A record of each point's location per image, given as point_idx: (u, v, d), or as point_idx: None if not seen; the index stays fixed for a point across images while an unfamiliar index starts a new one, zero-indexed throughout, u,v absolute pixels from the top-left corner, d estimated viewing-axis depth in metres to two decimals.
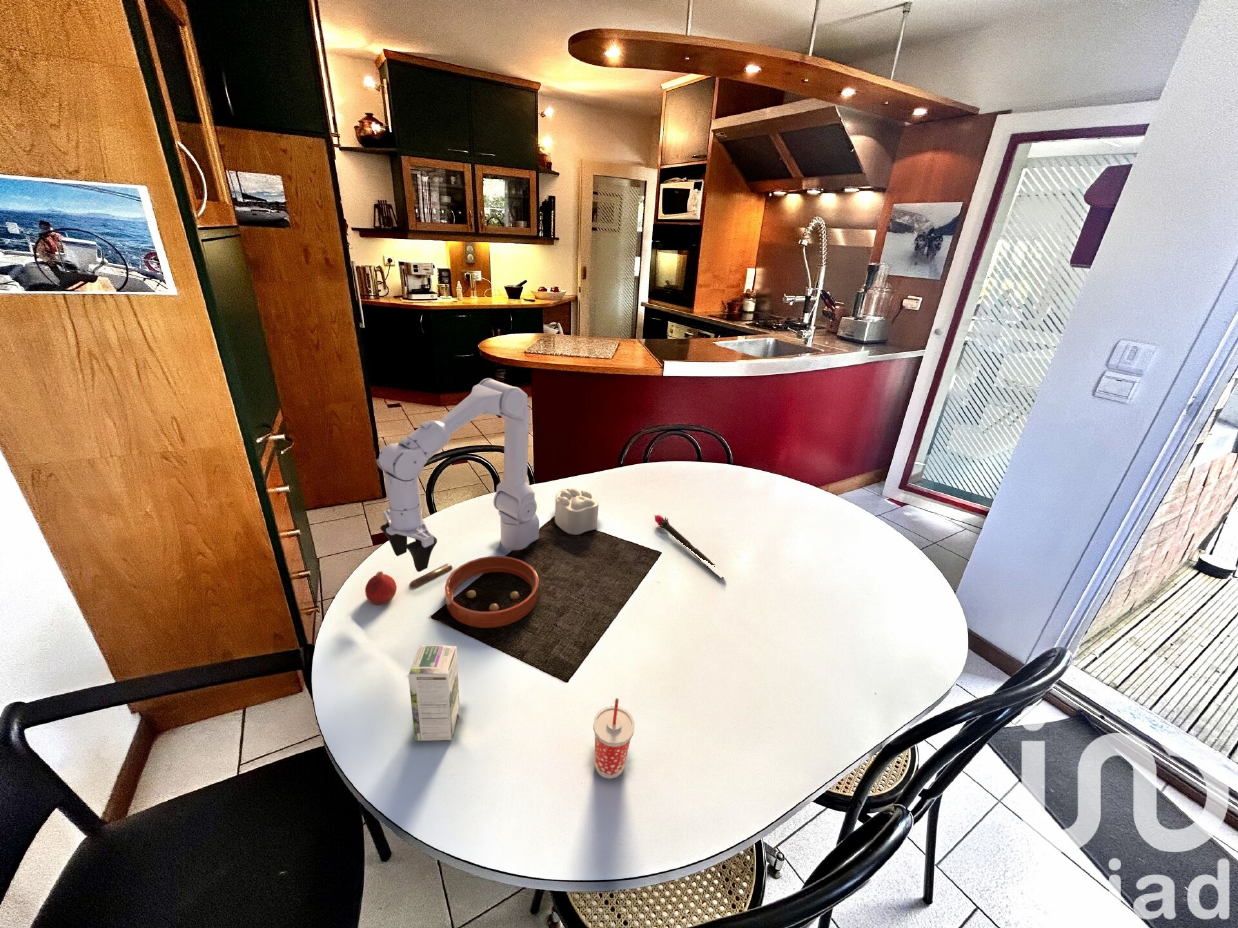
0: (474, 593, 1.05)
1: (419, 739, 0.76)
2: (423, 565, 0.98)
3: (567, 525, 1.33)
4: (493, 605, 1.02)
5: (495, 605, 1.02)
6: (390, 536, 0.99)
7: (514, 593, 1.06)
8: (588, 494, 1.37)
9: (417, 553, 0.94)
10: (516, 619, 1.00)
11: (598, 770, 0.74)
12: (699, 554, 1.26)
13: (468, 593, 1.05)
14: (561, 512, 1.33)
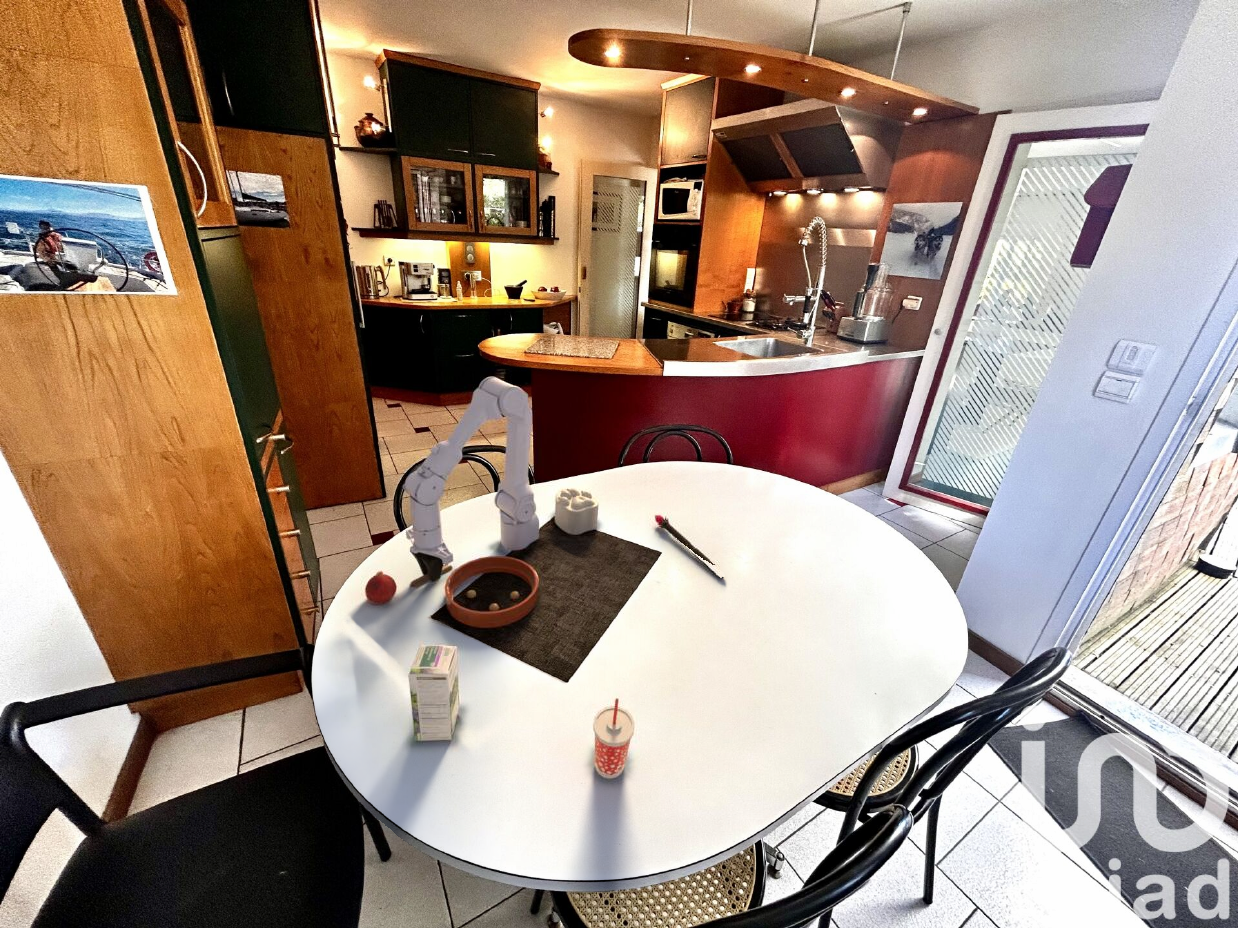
0: (474, 593, 1.05)
1: (419, 739, 0.76)
2: (436, 575, 1.09)
3: (567, 525, 1.33)
4: (493, 605, 1.02)
5: (495, 605, 1.02)
6: (419, 558, 1.07)
7: (514, 593, 1.06)
8: (588, 494, 1.37)
9: (431, 565, 1.05)
10: (516, 619, 1.00)
11: (598, 770, 0.74)
12: (699, 554, 1.26)
13: (468, 593, 1.05)
14: (561, 512, 1.33)
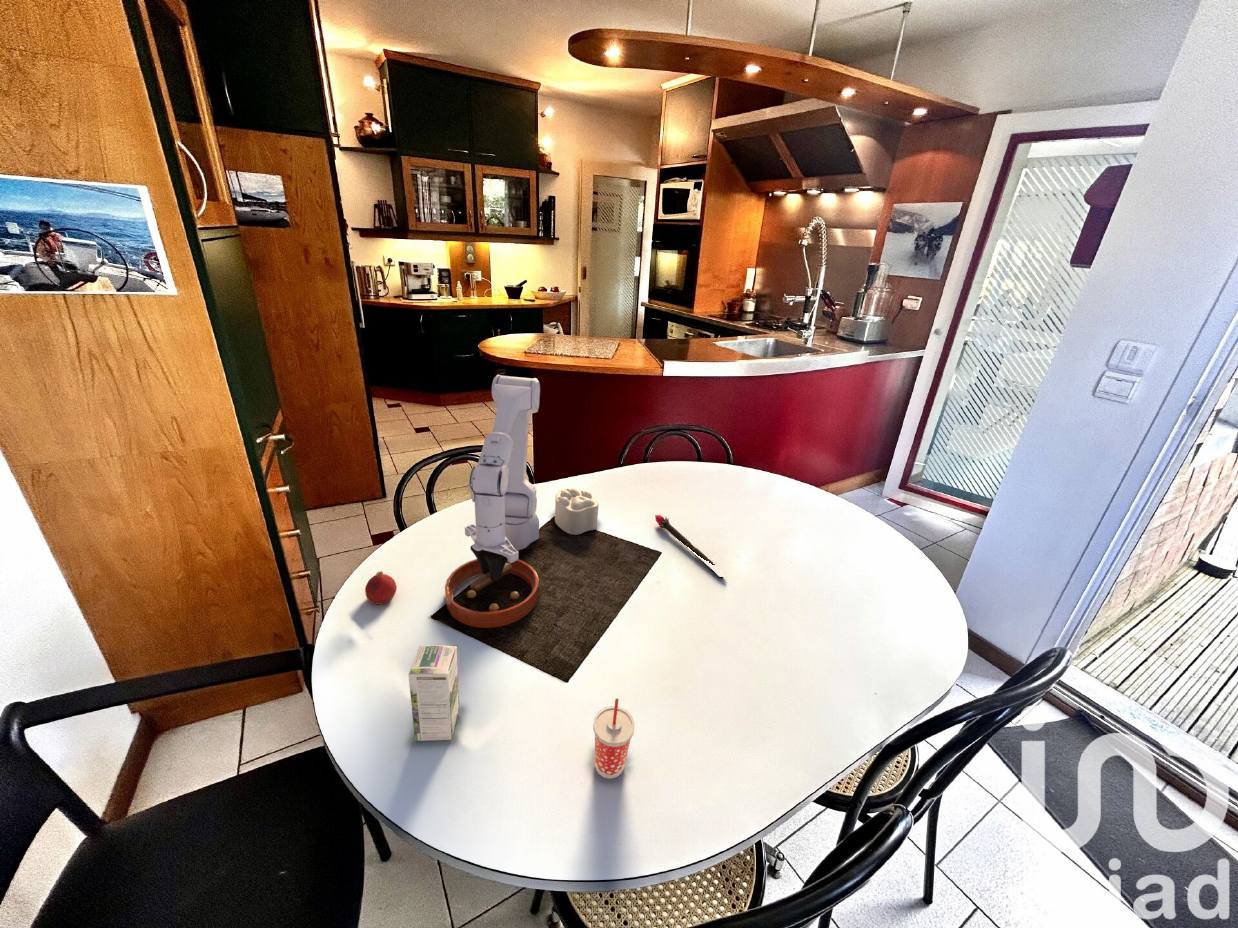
0: (474, 593, 1.05)
1: (419, 739, 0.76)
2: (498, 574, 1.02)
3: (567, 525, 1.33)
4: (493, 605, 1.02)
5: (495, 605, 1.02)
6: (480, 556, 1.01)
7: (514, 593, 1.06)
8: (588, 494, 1.37)
9: (495, 563, 0.99)
10: (516, 619, 1.00)
11: (598, 770, 0.74)
12: (699, 554, 1.26)
13: (468, 593, 1.05)
14: (561, 512, 1.33)
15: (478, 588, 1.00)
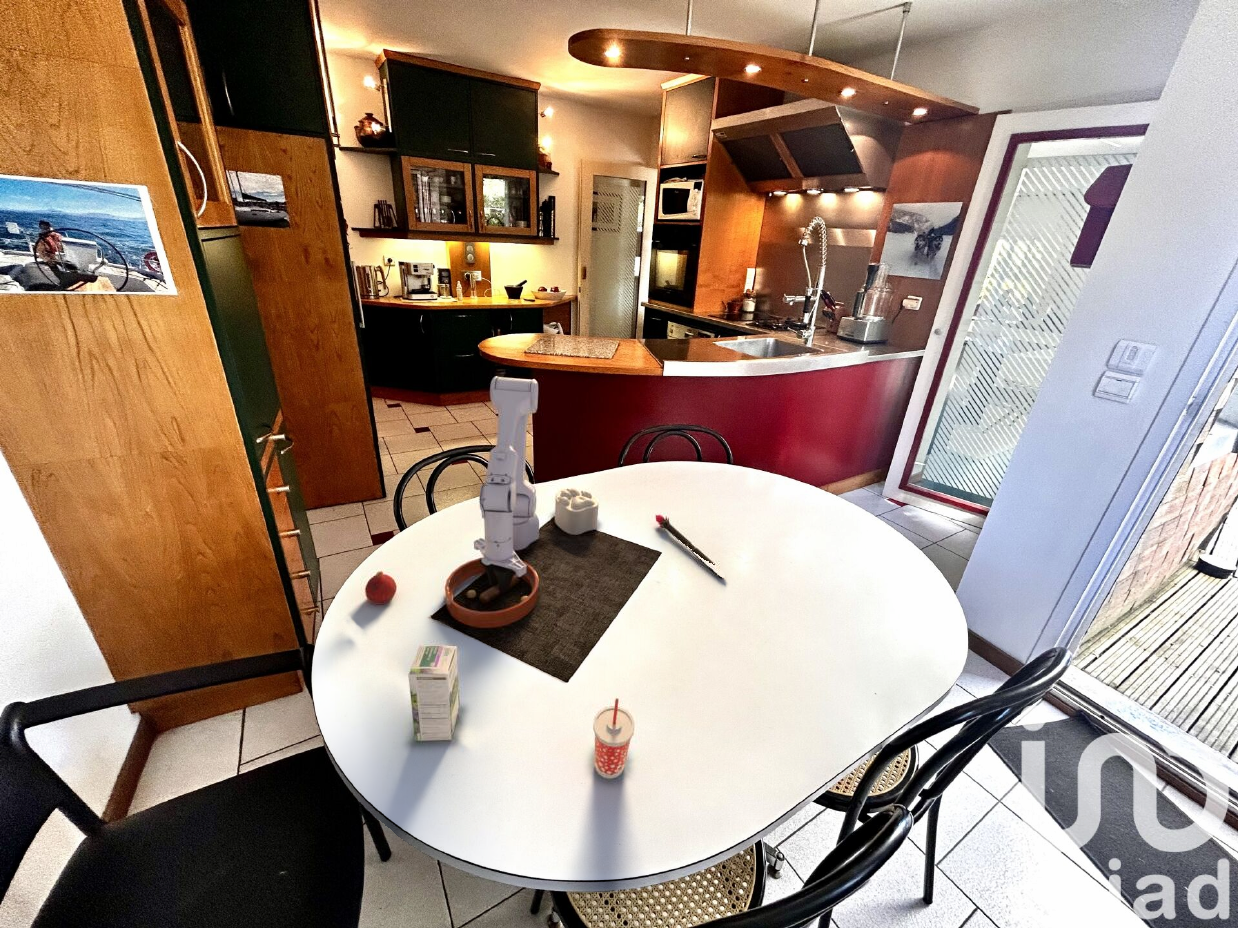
0: (474, 593, 1.05)
1: (419, 739, 0.76)
2: (506, 587, 1.06)
3: (567, 525, 1.33)
4: None
5: None
6: (488, 569, 1.04)
7: None
8: (588, 494, 1.37)
9: (503, 577, 1.02)
10: (516, 619, 1.00)
11: (598, 770, 0.74)
12: (700, 554, 1.26)
13: (468, 593, 1.05)
14: (561, 512, 1.33)
15: (487, 600, 1.03)
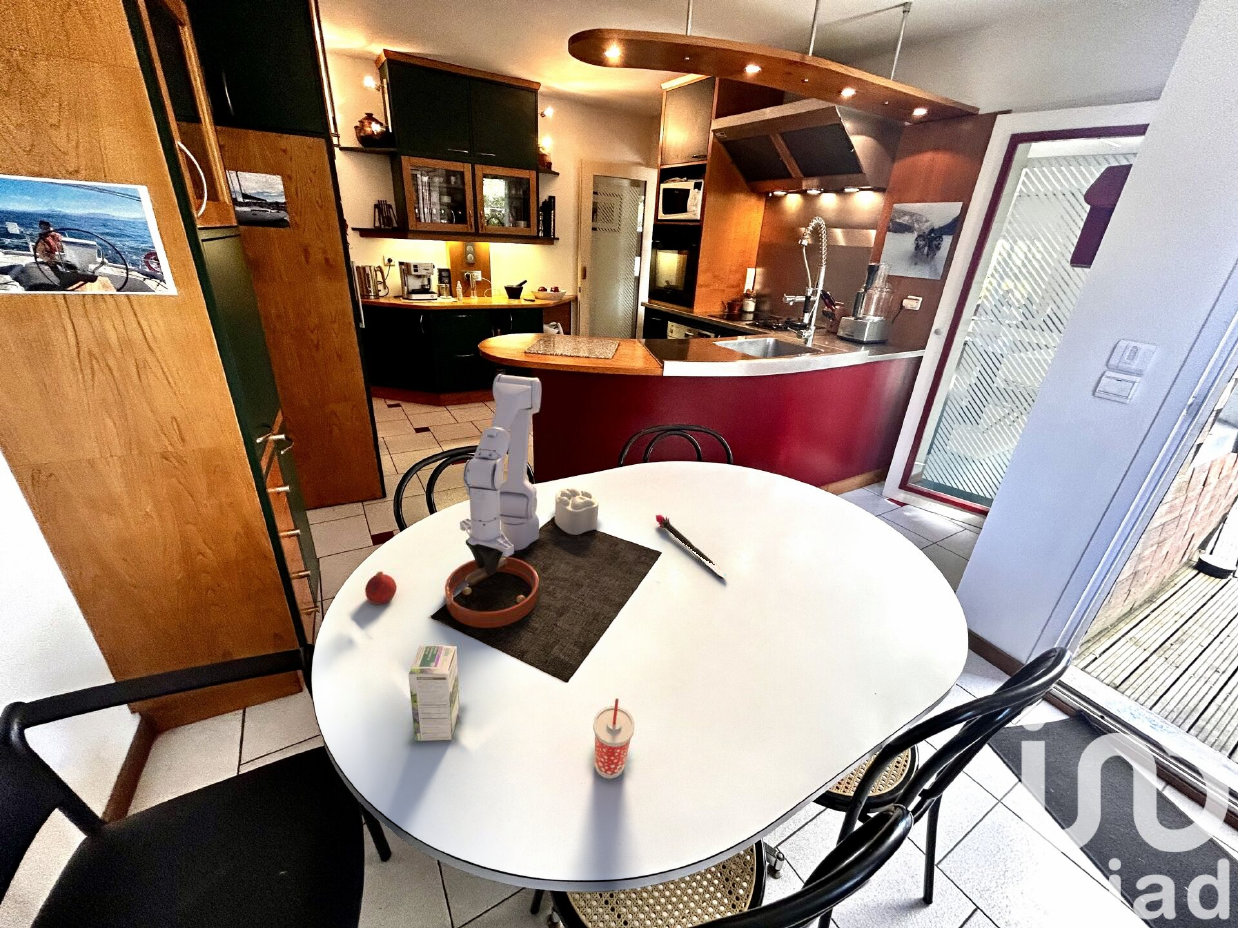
0: (465, 587, 1.06)
1: (419, 739, 0.76)
2: (493, 569, 1.02)
3: (567, 525, 1.33)
4: None
5: None
6: (475, 550, 1.01)
7: None
8: (588, 494, 1.37)
9: (490, 557, 0.98)
10: (516, 619, 1.00)
11: (598, 770, 0.74)
12: (700, 554, 1.26)
13: (462, 592, 1.06)
14: (561, 512, 1.33)
15: (473, 582, 1.00)
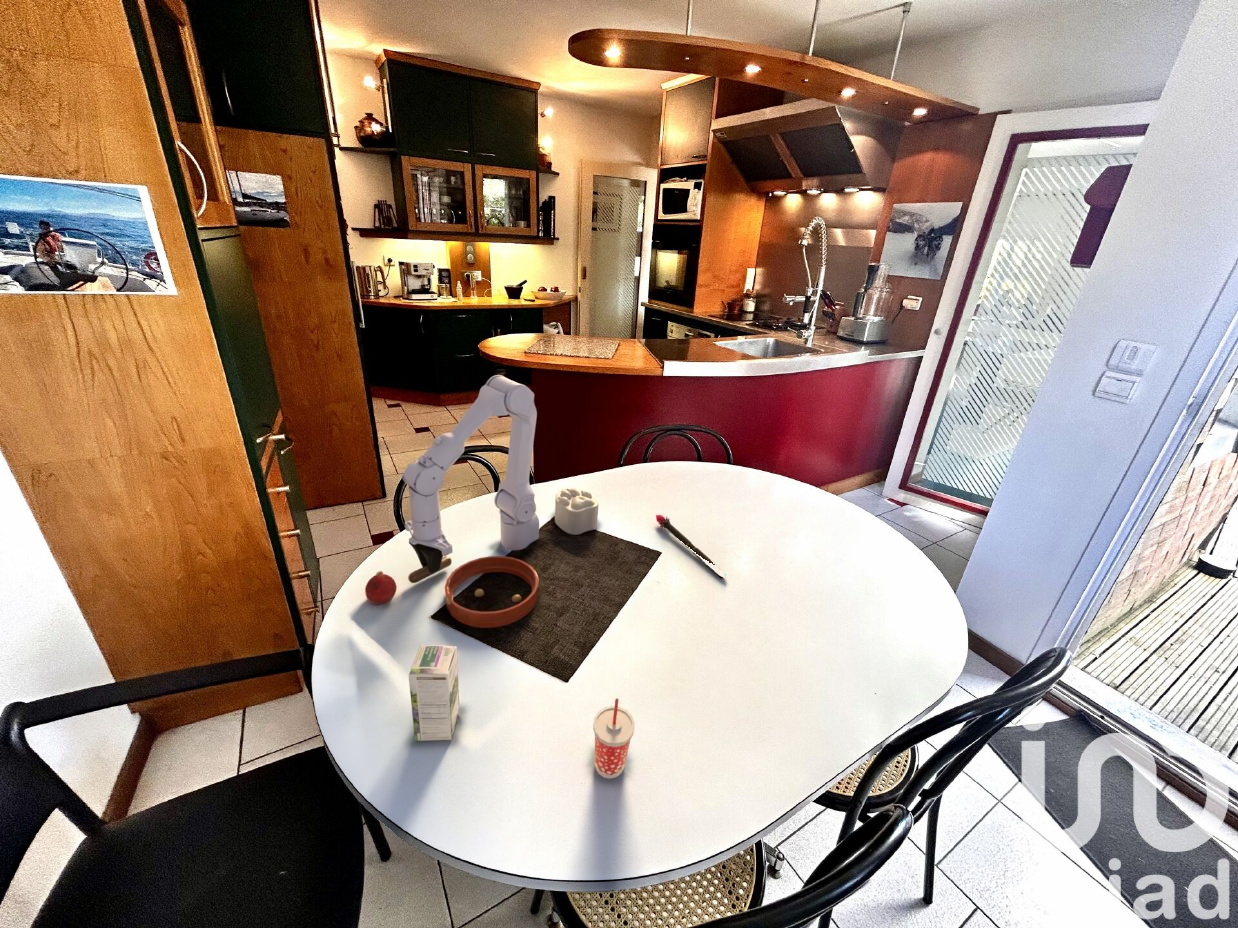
0: None
1: (419, 739, 0.76)
2: (436, 567, 1.08)
3: (567, 525, 1.33)
4: None
5: None
6: (418, 549, 1.07)
7: (519, 598, 1.05)
8: (588, 494, 1.37)
9: (431, 556, 1.04)
10: (516, 619, 1.00)
11: (598, 770, 0.74)
12: (700, 554, 1.26)
13: (481, 594, 1.06)
14: (561, 512, 1.33)
15: (415, 580, 1.06)
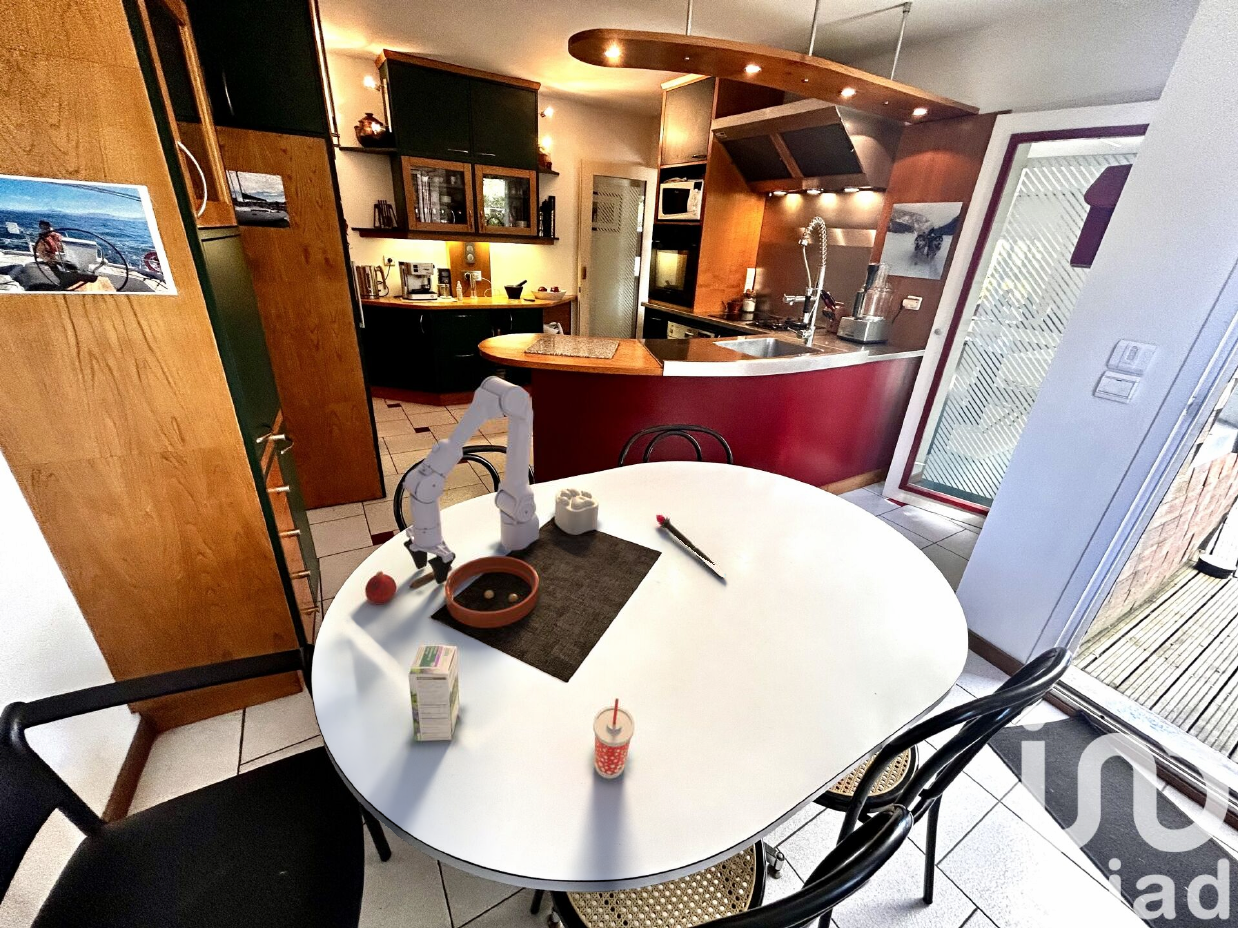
0: None
1: (419, 739, 0.76)
2: (443, 578, 1.07)
3: (567, 525, 1.33)
4: None
5: None
6: (412, 551, 1.09)
7: (513, 596, 1.05)
8: (588, 494, 1.37)
9: (438, 568, 1.04)
10: (516, 619, 1.00)
11: (598, 770, 0.74)
12: (700, 554, 1.26)
13: None
14: (561, 512, 1.33)
15: None
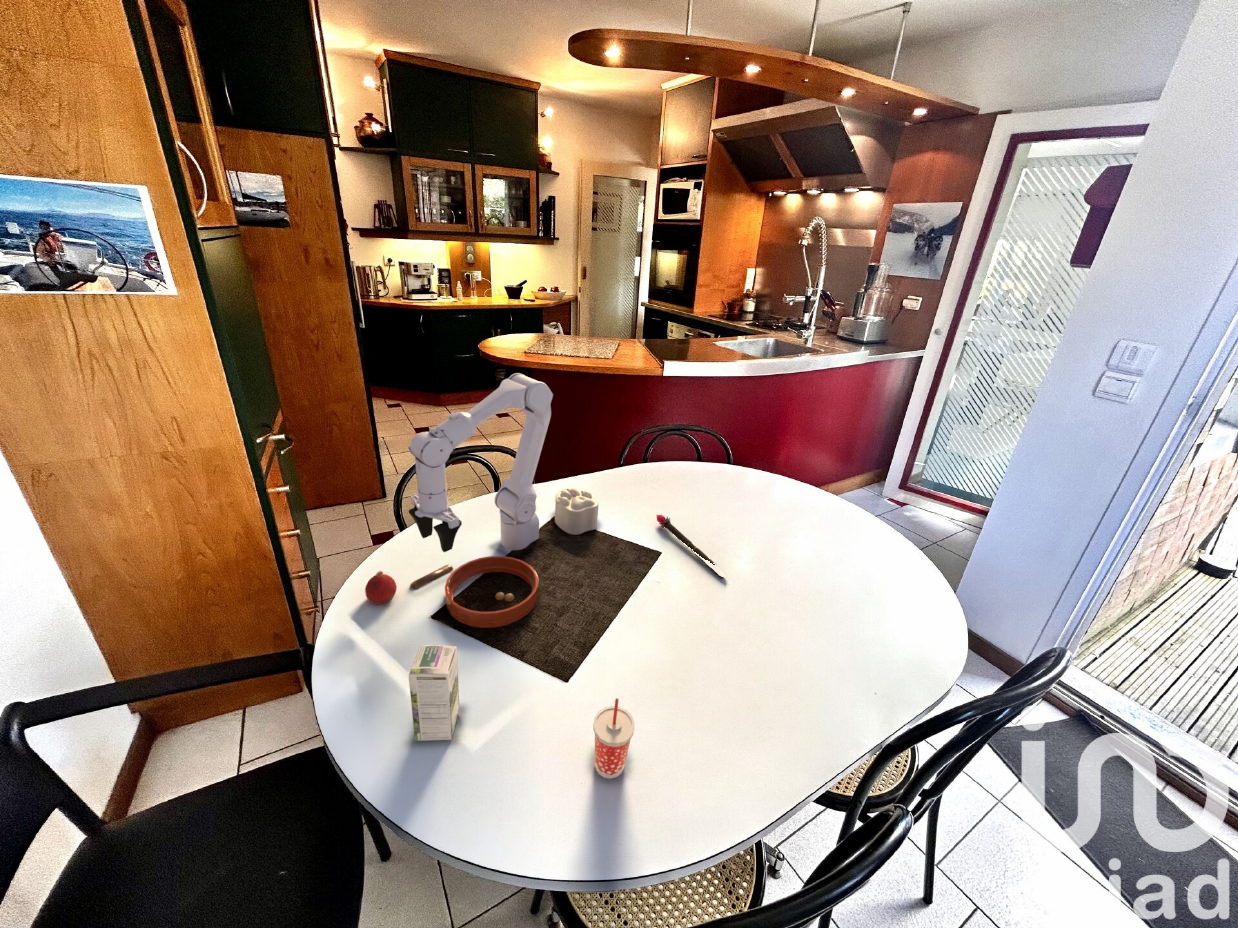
0: (502, 593, 1.06)
1: (419, 739, 0.76)
2: (448, 546, 1.06)
3: (567, 525, 1.33)
4: None
5: None
6: (418, 519, 1.07)
7: (506, 595, 1.05)
8: (588, 494, 1.37)
9: (444, 534, 1.02)
10: (516, 619, 1.00)
11: (598, 770, 0.74)
12: (700, 554, 1.26)
13: (497, 595, 1.05)
14: (561, 512, 1.33)
15: None
